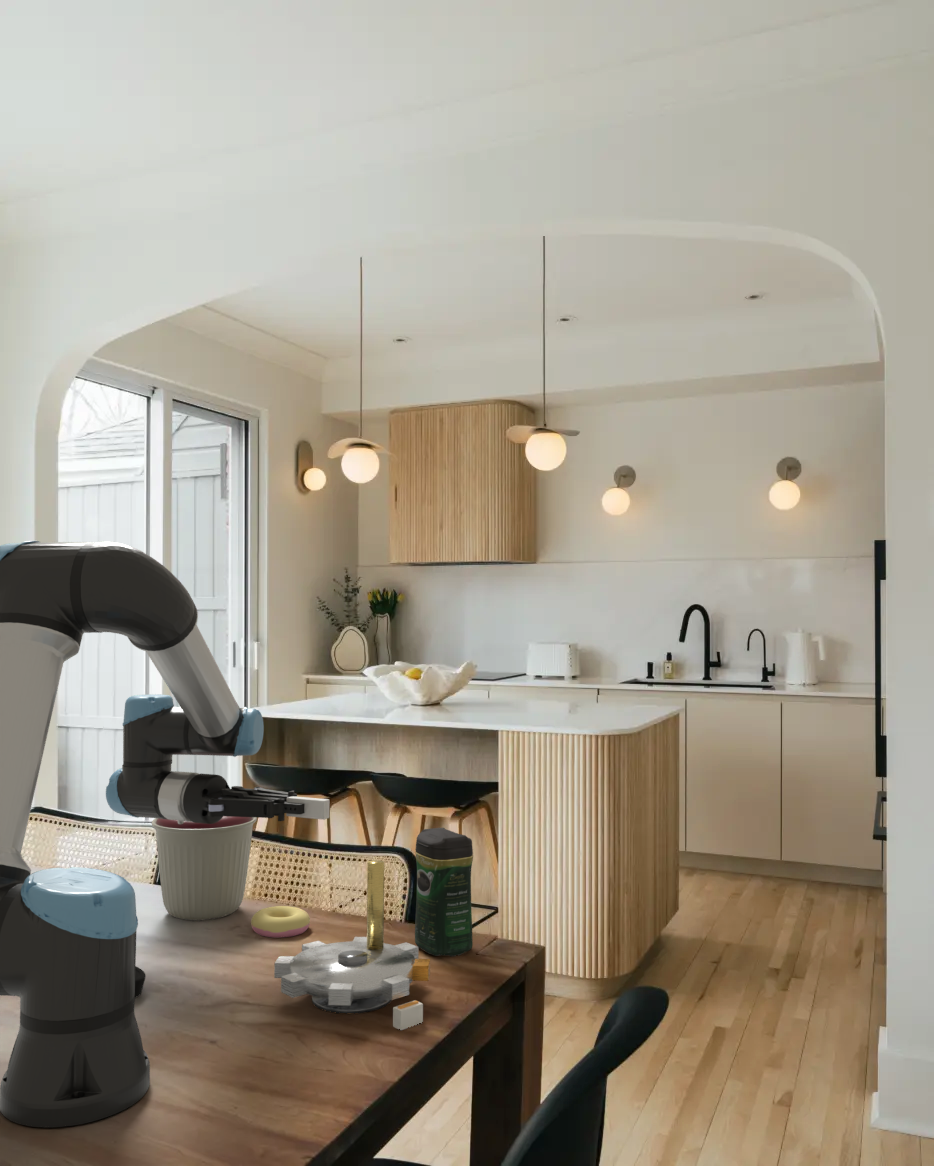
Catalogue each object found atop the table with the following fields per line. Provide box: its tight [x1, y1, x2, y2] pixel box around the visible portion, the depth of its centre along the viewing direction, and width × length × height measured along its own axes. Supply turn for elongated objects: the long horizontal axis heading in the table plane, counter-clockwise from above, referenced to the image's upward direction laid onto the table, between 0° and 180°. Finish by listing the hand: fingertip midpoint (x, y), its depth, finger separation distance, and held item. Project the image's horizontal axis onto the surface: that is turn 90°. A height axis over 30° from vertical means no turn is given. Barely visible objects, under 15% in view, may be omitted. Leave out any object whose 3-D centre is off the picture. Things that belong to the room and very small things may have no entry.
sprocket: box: [273, 859, 431, 1006], centre depth 135 cm, size 21×21×14 cm
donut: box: [250, 905, 311, 939], centre depth 165 cm, size 10×5×9 cm
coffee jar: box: [414, 827, 474, 957], centre depth 156 cm, size 10×8×19 cm
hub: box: [311, 995, 393, 1015], centre depth 135 cm, size 11×11×3 cm
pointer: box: [392, 999, 424, 1031], centre depth 126 cm, size 4×2×3 cm, turn 133°
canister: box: [151, 816, 258, 921], centre depth 175 cm, size 18×18×21 cm
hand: (326, 809), depth 145 cm, fingers closed
